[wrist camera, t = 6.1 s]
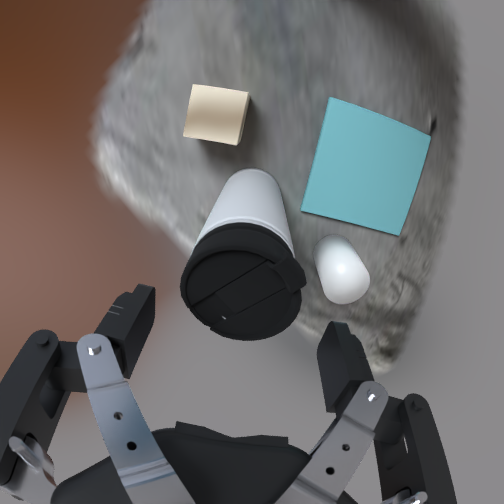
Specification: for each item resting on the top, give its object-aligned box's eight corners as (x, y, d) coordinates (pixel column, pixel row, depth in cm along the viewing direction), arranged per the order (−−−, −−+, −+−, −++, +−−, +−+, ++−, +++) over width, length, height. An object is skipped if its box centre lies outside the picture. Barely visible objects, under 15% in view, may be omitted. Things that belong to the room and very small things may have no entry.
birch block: (203, 89, 27) (193, 84, 22) (250, 96, 27) (248, 92, 22) (195, 133, 29) (183, 136, 24) (240, 140, 29) (236, 145, 25)
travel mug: (293, 199, 32) (332, 314, 14) (246, 231, 34) (229, 365, 16) (260, 154, 30) (258, 215, 12) (212, 189, 32) (149, 292, 14)
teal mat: (329, 97, 26) (330, 96, 26) (428, 136, 27) (431, 136, 27) (300, 208, 32) (300, 210, 32) (397, 233, 33) (398, 235, 32)
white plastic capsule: (320, 230, 33) (332, 258, 27) (357, 239, 34) (377, 267, 27) (308, 267, 35) (316, 300, 29) (344, 274, 36) (359, 307, 30)
